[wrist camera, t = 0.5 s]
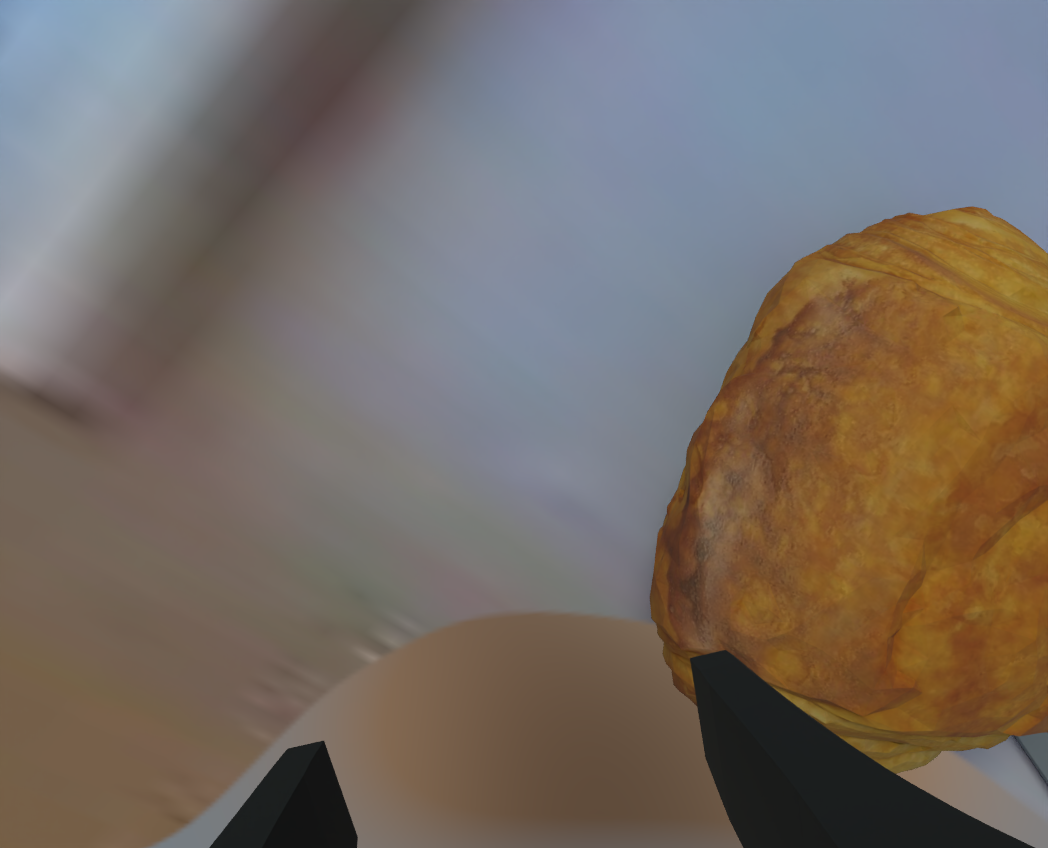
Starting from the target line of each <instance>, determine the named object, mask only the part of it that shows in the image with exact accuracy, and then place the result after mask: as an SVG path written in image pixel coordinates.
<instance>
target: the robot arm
mask: <svg viewBox="0 0 1048 848" xmlns="http://www.w3.org/2000/svg"><path fill="white" fill-rule="evenodd" d="M690 663H691V669H692V675H693V682H694V688H695V694H696V701H697V707H698V713H699V719H700V725H701V732H702V738H703V744H704V751H705V757H706V760H707V763H708V765H709V768H710V771H711V773H712V776H713V778H714V781H715V784H716V787H717V789H718V792H719V794H720V797H721V799H722V802H723V805H724V807H725V810H726V812H727V815H728V817H729V820H730V822H731V824H732V826H733V828H734V830H735V832H736V834H737V836H738V838H739V840H740V842H741V844H742V846H743V848H1034V847H1032V846H1030V845H1028V844H1026V843H1024V842H1022V841H1020V840H1018V839H1016V838H1013V837H1012V836H1009V835H1007V834H1005V833H1003V832H1001V831H999V830H997V829H995V828H993V827H991V826H989V825H987V824H985V823H983V822H981V821H979V820H977V819H975V818H973V817H971V816H969V815H967V814H965V813H963V812H961V811H960V810H958V809H956V808H954V807H952V806H950V805H949V804H947V803H945V802H943V801H941V800H940V799H938V798H936V797H934V796H933V795H931V794H929V793H927V792H926V791H924V790H922V789H920V788H918V787H917V786H915V785H913V784H911V783H910V782H908V781H906V780H905V779H903V778H901V777H900V776H898V775H896V774H895V773H893V772H892V771H890V770H888V769H887V768H885V767H884V766H882V765H881V764H879V763H878V762H876V761H874V760H873V759H871V758H870V757H868V756H867V755H865V754H864V753H862V752H861V751H859V750H858V749H856V748H855V747H853V746H852V745H850V744H849V743H847V742H846V741H844V740H843V739H842V738H840V737H839V736H837V735H836V734H834V733H833V732H832V731H830V730H829V729H827V728H826V727H825V726H823V725H822V724H821V723H819V722H818V721H816V720H815V719H814V718H812V717H811V716H810V715H808V714H807V713H805V712H804V711H803V710H801V709H800V708H799V707H797V706H796V705H795V704H793V703H792V702H791V701H790V700H788V699H787V698H786V697H784V696H783V695H782V694H781V693H779V692H778V691H777V690H775V689H774V688H773V687H772V686H770V685H769V684H768V683H767V682H765V681H764V680H763V679H762V678H760V677H759V676H758V675H757V674H756V673H754V672H753V671H752V670H751V669H750V668H748V667H747V666H746V665H745V664H743V663H742V662H741V661H740V660H739V659H737V658H736V657H735V656H734V655H733V654H731V653H730V652H728V651H727V650H722V651H718V652H713V653H709V654H705V655H700V656H696V657H691V658H690ZM357 838H358V837H357V834H356V831H355V828H354V826H353V823H352V820H351V817H350V814H349V812H348V808H347V805H346V803H345V800H344V797H343V794H342V791H341V788H340V785H339V783H338V780H337V777H336V774H335V771H334V768H333V765H332V763H331V760H330V757H329V754H328V751H327V748H326V745H325V742H324V741H321V742H316V743H311V744H307V745H303V746H298V747H293V748H289V749H287V750H286V751H285V753H284V754H283V755H282V756H281V757H280V759H279V760H278V761H277V762H276V764H275V765H274V766H273V767H272V769H271V770H270V771H269V772H268V774H267V775H266V776H265V777H264V779H263V780H262V781H261V783H260V784H259V785H258V786H257V788H256V789H255V790H254V792H253V793H252V794H251V796H250V797H249V798H248V799H247V801H246V802H245V803H244V805H243V806H242V807H241V808H240V810H239V811H238V812H237V814H236V815H235V816H234V817H233V819H232V820H231V821H230V822H229V824H228V825H227V826H226V827H225V829H224V830H223V831H222V833H221V834H220V835H219V836H218V838H217V839H216V840H215V841H214V843H213V844H212V845H211V846H210V848H357Z"/></svg>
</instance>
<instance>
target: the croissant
mask: <svg viewBox="0 0 1048 848" xmlns="http://www.w3.org/2000/svg"><path fill="white" fill-rule="evenodd" d="M650 605H651V618H652V620H653V621H654V622H655V623H656V625H657V629H658V630H657V633H658V635H659V637H660V638H661V639H662V640H663V641H664V647H663V656H664V659H665V662H666V664H667V665H668V666H669V667H670V668H671V670H672V676H673V683H674V686H676V688H677V689H678V690H679V691H680V692H681V693H683V694H684V695H685V696H686V697H688V698H689V699H690V700H691V701H692V702H693V703H694V704H695V705H696V706H697V701H696V694H695V688H694V682H693V675H692V669H691V663H690V658H691V657H696V656H700V655H705V654H709V653H713V652H718V651H722V650H727V651H728V652H730V653H731V654H733V655H734V656H735V657H736V658H737V659H739V660H740V661H741V662H742V663H743V664H745V665H746V666H747V667H748V668H750V669H751V670H752V671H753V672H754V673H756V674H757V675H758V676H759V677H760V678H762V679H763V680H764V681H765V682H767V683H768V684H769V685H770V686H772V687H773V688H774V689H775V690H777V691H778V692H779V693H781V694H782V695H783V696H784V697H786V698H787V699H788V700H790V701H791V702H792V703H793V704H795V705H796V706H797V707H799V708H800V709H801V710H803V711H804V712H805V713H807V714H808V715H810V716H811V717H812V718H814V719H815V720H816V721H818V722H819V723H821V724H822V725H823V726H825V727H826V728H827V729H829V730H830V731H832V732H833V733H834V734H836V735H837V736H839V737H840V738H842V739H843V740H844V741H846V742H847V743H849V744H850V745H852V746H853V747H855V748H856V749H858V750H859V751H861V752H862V753H864V754H865V755H867V756H868V757H870V758H871V759H873V760H874V761H876V762H878V763H879V764H881V765H882V766H884V767H885V768H887V769H888V770H890V771H892V772H893V773H895V774H897V773H899V772H903V771H908V770H912V769H915V768H918V767H921V766H924V765H926V764H928V763H929V762H930V761H932V760H933V759H934V758H936V757H937V756H938V755H939V754H940V753H941V751H963V750H970V749H974V748H984V749H989V748H991V747H993V746H995V745H997V744H999V743H1001V742H1003V741H1005V740H1007V738H1008V737H1009V736H1011V735H1015V736H1025V735H1031V734H1037V733H1045V732H1047V733H1048V254H1047V253H1046V252H1045V251H1044V250H1043V249H1042V248H1041V247H1040V246H1038V245H1037V244H1036V243H1035V242H1034V241H1033V240H1031V239H1030V238H1029V237H1028V236H1026V235H1025V234H1024V233H1022V232H1021V231H1020V230H1018V229H1017V228H1015V227H1014V226H1012V225H1011V224H1009V223H1008V222H1006V221H1005V220H1003V219H1001V218H998V217H995V216H993V215H992V214H991V213H990V212H988V211H987V210H986V209H982V208H977V207H965V208H958V209H952V210H947V211H942V212H938V213H933V214H928V215H918V214H913V213H907V214H905V215H899V216H895V217H893V218H892V219H884V220H883V221H882V222H880V223H877V224H874V225H872V226H869V227H867V228H866V229H864V230H863V231H862V232H860V233H851V234H846V235H845V236H844V237H842V238H841V239H839V240H838V241H836V242H835V243H833V244H832V245H826V246H825V247H823V248H822V249H820V250H818V251H817V252H815V253H812V254H810V255H808V256H806V257H804V258H802V259H800V260H799V261H797V262H795V263H794V265H793V267H792V268H791V270H790V271H789V272H788V273H787V274H786V275H785V276H784V277H783V278H782V279H781V280H780V281H779V282H778V283H777V284H776V285H775V286H774V287H773V288H772V289H771V290H770V291H769V292H768V293H767V295H766V297H765V299H764V301H763V303H762V305H761V308H760V310H759V312H758V314H757V316H756V318H755V321H754V324H753V327H752V329H751V332H750V335H749V338H748V341H747V342H746V343H745V345H744V346H743V347H742V348H741V350H740V351H739V352H738V354H737V356H736V357H735V359H734V361H733V362H732V364H731V366H730V368H729V369H728V371H727V373H726V376H725V379H724V381H723V384H722V387H721V390H720V392H719V394H718V396H717V397H716V399H715V400H714V402H713V404H712V405H711V407H710V408H709V410H708V412H707V414H706V417H705V419H704V421H703V423H702V424H701V425H700V426H699V428H698V429H697V430H696V431H695V432H694V434H693V436H692V439H691V441H690V444H689V446H688V449H687V456H686V466H685V468H684V470H683V472H682V476H681V479H680V483H679V486H678V489H677V491H676V493H675V494H674V496H673V498H672V500H671V502H670V503H669V505H668V506H667V515H666V517H665V520H664V523H663V527H661V528H660V530H659V533H658V538H657V546H656V555H655V565H654V573H653V580H652V587H651V593H650Z"/></svg>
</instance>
